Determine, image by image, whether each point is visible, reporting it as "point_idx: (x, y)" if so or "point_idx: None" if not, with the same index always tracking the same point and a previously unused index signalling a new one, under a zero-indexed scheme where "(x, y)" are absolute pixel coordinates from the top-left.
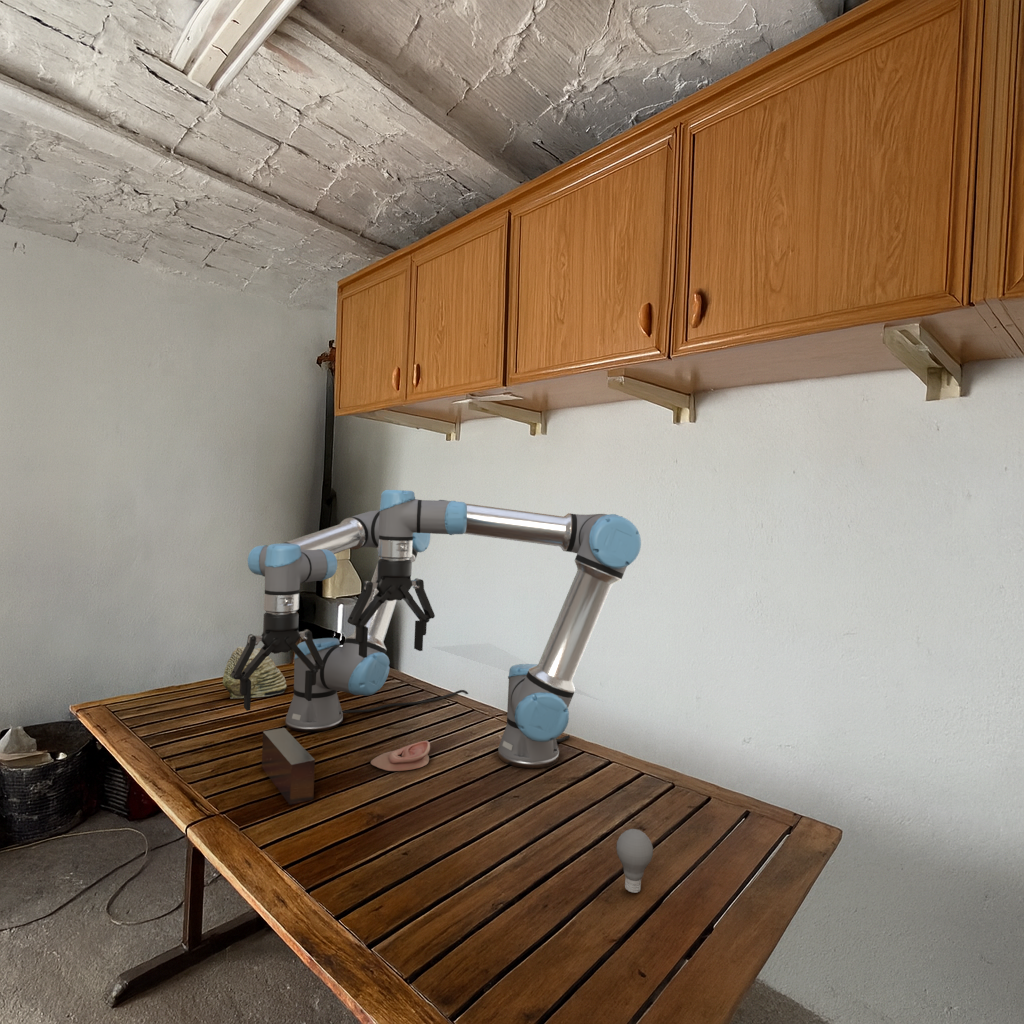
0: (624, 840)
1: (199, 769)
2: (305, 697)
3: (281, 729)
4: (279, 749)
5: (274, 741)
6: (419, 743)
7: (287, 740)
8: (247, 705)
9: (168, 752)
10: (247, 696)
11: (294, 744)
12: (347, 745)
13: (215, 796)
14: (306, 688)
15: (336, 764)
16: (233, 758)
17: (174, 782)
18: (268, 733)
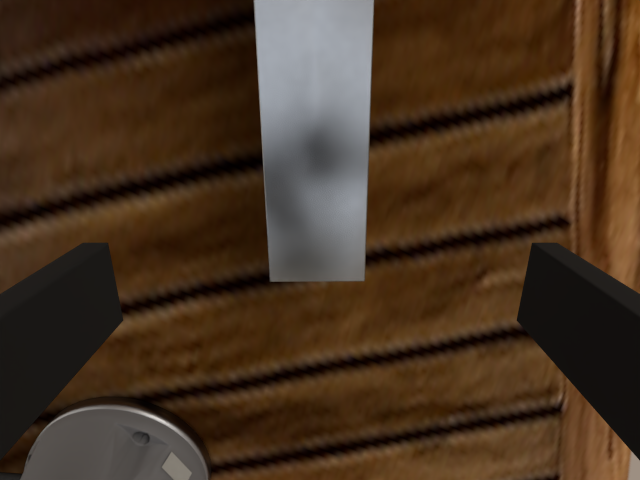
0: None
1: (509, 300)
2: (115, 307)
3: (287, 266)
4: (369, 6)
5: (358, 132)
6: None
7: (299, 114)
8: (576, 256)
9: (534, 437)
10: (633, 290)
11: (283, 37)
12: None
13: (543, 83)
14: (68, 334)
15: (122, 129)
16: (404, 329)
17: (597, 248)
18: (351, 246)
